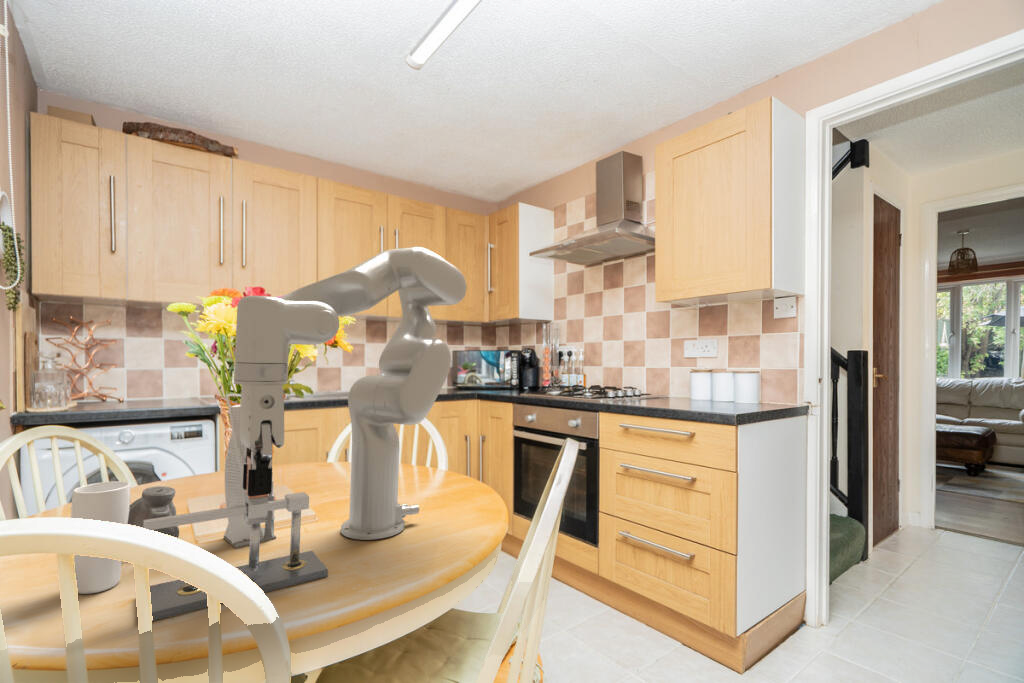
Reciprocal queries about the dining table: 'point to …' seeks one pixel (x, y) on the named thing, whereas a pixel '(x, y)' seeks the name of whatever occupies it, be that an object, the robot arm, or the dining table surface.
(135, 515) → the pipe fitting
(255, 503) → the sliding leg
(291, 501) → the divider frame
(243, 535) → the skyscraper
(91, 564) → the grey cup
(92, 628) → the dining table surface
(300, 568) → the bolt plate
